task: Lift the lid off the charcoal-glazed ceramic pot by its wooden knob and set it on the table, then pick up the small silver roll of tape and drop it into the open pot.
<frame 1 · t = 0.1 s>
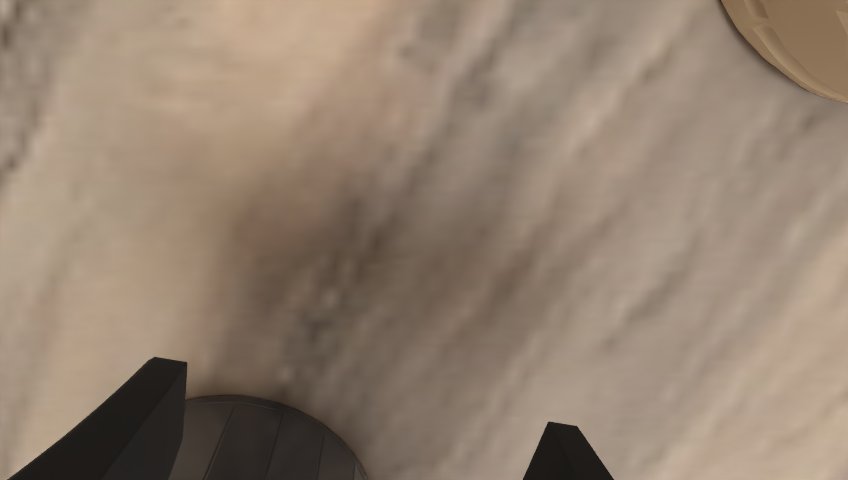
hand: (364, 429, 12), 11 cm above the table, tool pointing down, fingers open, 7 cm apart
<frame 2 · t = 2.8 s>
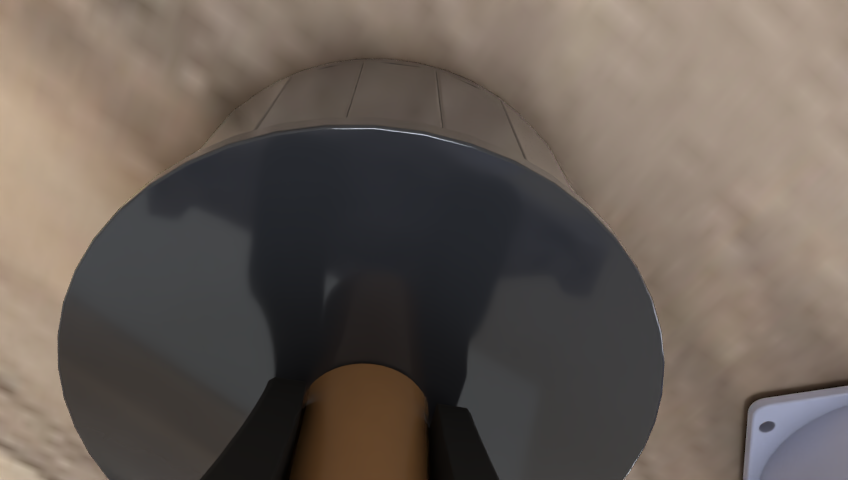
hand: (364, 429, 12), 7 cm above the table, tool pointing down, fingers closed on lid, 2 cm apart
pot: (380, 252, 19), on the table
lid: (367, 393, 13), point 6 cm above the table, touching gripper, pot
when the fingers open (3 cm above the table, at t = 18.1 s): lid stays where it is, point 1 cm above the table.
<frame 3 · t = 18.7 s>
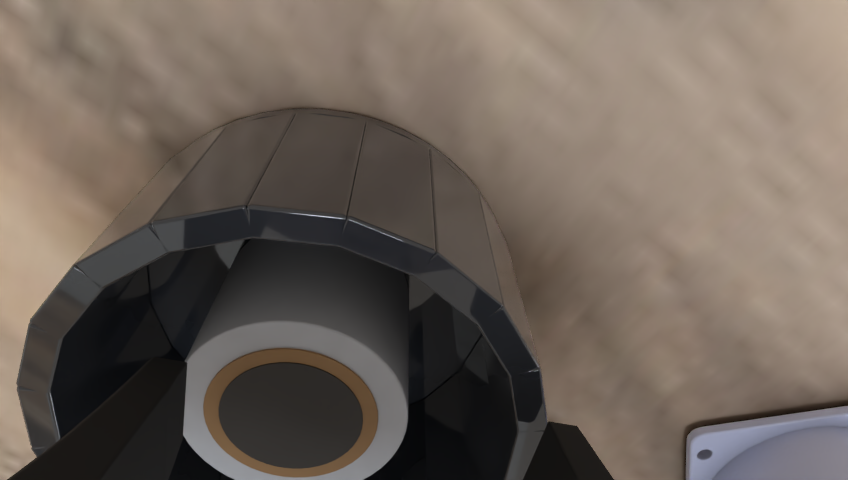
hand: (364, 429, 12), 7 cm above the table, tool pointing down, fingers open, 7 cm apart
pot: (323, 289, 19), on the table
tape roll: (318, 298, 19), resting on pot
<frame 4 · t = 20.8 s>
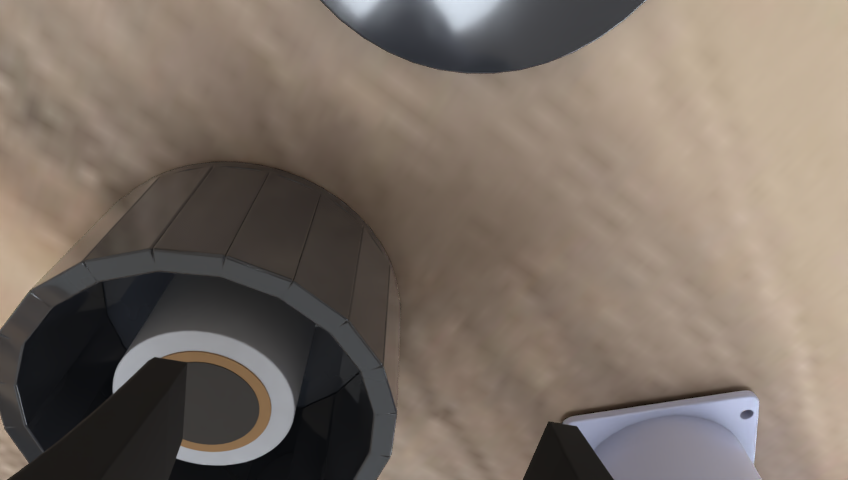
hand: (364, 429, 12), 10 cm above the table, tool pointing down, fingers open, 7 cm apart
pot: (247, 303, 23), on the table
tape roll: (243, 310, 23), resting on pot
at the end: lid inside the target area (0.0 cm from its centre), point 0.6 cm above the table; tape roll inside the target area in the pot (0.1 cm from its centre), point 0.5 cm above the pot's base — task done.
